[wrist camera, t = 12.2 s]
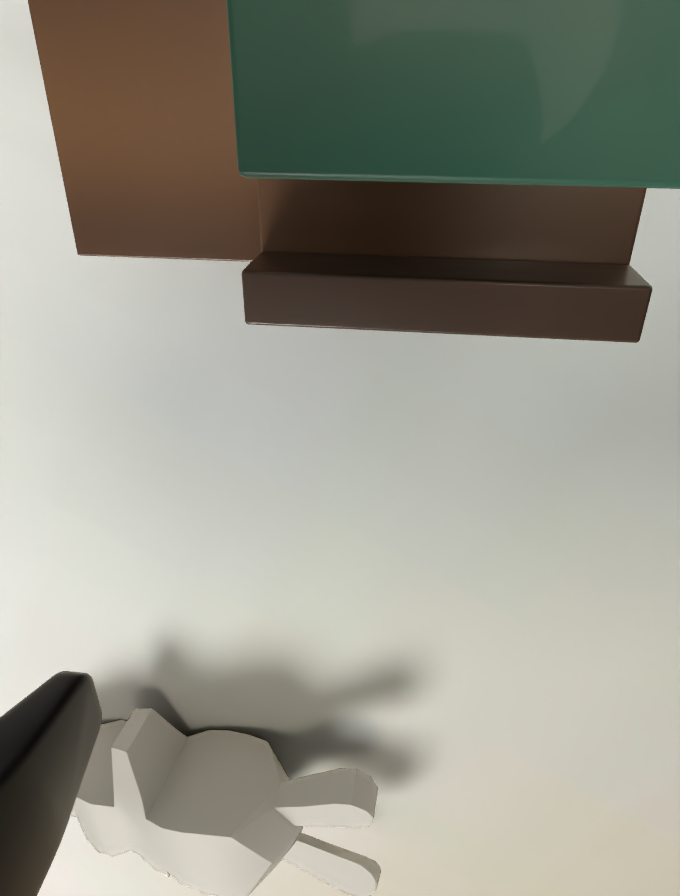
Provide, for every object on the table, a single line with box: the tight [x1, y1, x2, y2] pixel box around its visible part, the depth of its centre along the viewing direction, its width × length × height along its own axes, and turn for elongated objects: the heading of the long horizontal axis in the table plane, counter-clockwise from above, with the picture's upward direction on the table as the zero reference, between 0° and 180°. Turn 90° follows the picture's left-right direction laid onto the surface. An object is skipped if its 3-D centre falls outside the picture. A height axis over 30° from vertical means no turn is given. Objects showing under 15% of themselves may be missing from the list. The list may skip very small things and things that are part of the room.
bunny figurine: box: [70, 708, 381, 896], centre depth 29 cm, size 10×5×15 cm
